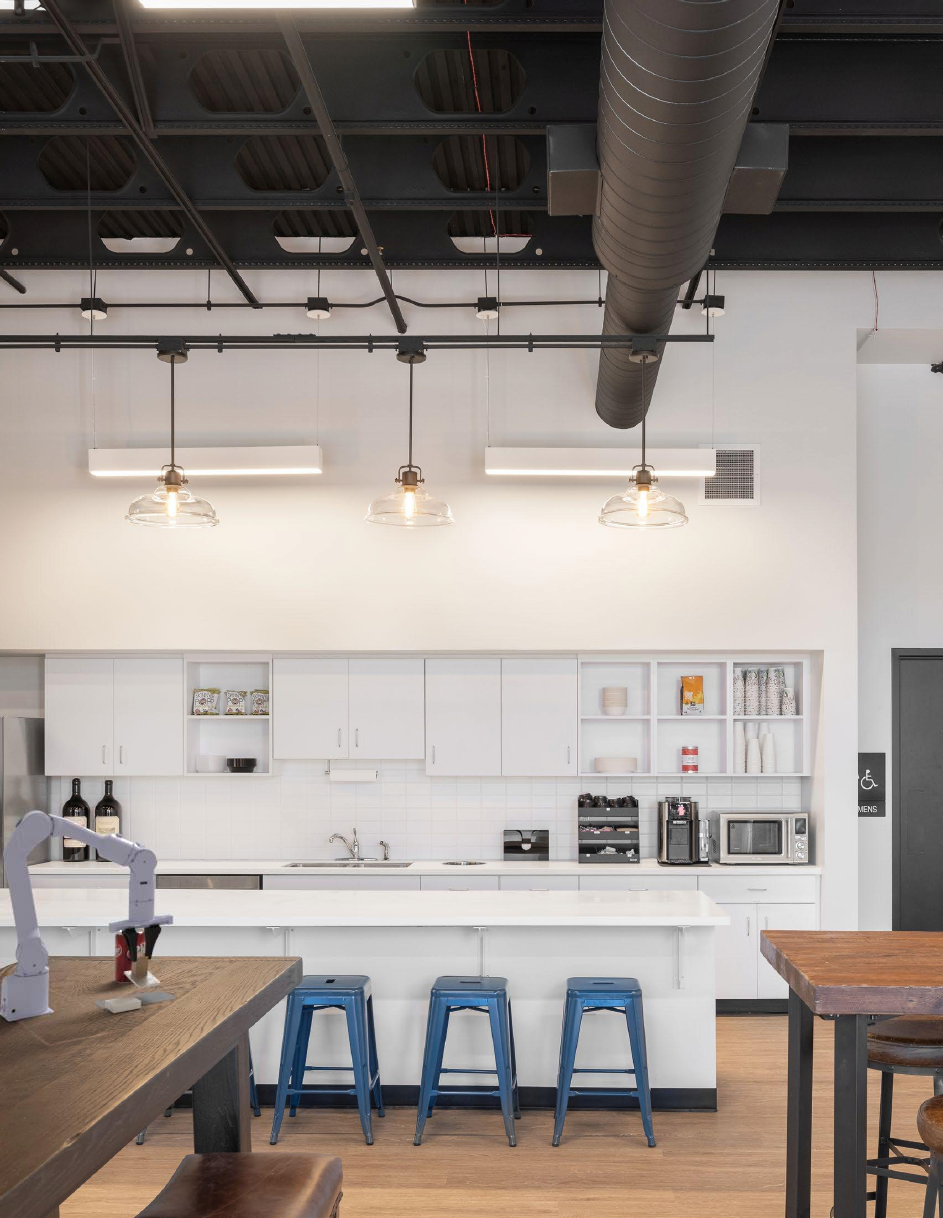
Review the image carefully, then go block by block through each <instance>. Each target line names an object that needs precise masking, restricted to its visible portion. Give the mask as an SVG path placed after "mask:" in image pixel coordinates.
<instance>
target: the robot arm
mask: <svg viewBox="0 0 943 1218" xmlns="http://www.w3.org/2000/svg"><path fill="white" fill-rule="evenodd" d="M49 836H50V837H51V838H57V837H67V838H70V839H73V840H74V841H77V842H80V843H83V844H85V845H87V846H90V847H93V848H95V849H96V850H97V851H96V852H97V853H98V856H99V857H101V858H102V859H105V860H107V861H110V862H113V864H117V865H120V866H121V867H123V868H124V867H128V868H129V880H128V881H129V883H128V919H124V920H120V921H119V920H118V921H114V922H109V923H108V932H109V933H111V934H113V933H117V932H119V931H121V933H122V935H123V937H124V939H125V941H126V944H127V946H128V949H129V953H130V958H131V961H132V962H137V942H138V935H139V933H138V932H136V930H135V929H143V930H144V933H145V953H146V954H147V955H148V956H149V957H148V961H149V960H152V956H153V953H154V949H155V946H156V943H157V940H158V939H159V937H160V934H161V932H162V927H161V926H164V925H173V924H174V916H173V915H172V914H167V915H156V916H155V892H156V891H155V889H156V888H155V883H156V882H155V869H156V867H157V866H158V860H157V857H156V854H155V853H154V852H153V851H152V850H150V849H149V848H147V847H146V846H143V845H142V844H141V843H140V842H138V841H137V842H133V841H131V840H129V839H126V838H124V837H123V834H121V833H119V832H116V833H112V832H110V833H107V834H105V835H102V834H100V833H98V832H95V831H93V830H91V829H89V828H87V827H85V826H83V825H81V824H78V823H76V822H74V821H72V820H70V819H68V818H65V817H62V816H58V815H55V814H51V813H48V814H46V813H45V812H44V811H41V810H40V809H39V810H38V809H35V810H29V811H27V812H25V814H23V816H21V818H20V819H18V821H17V822H15V824H14V828H13V829H12V832H11V834H10V836H9V838H8V841H7V842H6V844H5V847H4V849H3V852H2V853H3V862H4V867H5V873H6V878H7V884H8V890H9V895H10V902H11V908H12V912H13V918H14V919H13V920H14V924H15V930H16V937H17V947H16V950H15V958H16V961H17V966H16V968H15V969H14V970H13V974H11V975H9V976H4V977H3V978H2V982H1V986H0V987H1V989H0V991H1V992H0V1015H1V1017H3V1018H4V1019H5V1020H6V1021H8V1022H13V1021H19V1020H21V1019H22V1020H23V1019H27V1018H34V1017H37V1016H42V1015H48V1014H53V1013H55V1011H54V1010H53V1009H51V1008H50V1007H49V988H50V986H49V983H50V967H49V966H47V965H48V962H49V959H50V958H49V957H50V956H49V952H48V950H47V949H46V944H45V943H44V941H42V938H41V933H40V929H39V924H38V919H37V918H38V917H37V914H36V913H37V911H36V907H35V901H34V897H33V896H34V895H33V889H32V883H31V879H30V878H31V877H30V872H29V867H28V859H27V857H28V856H29V854H30V853H31V852H32V851H33V849H35V847H36V846H37V845H38V844H39V843H41V842H42V841H44V840H45V839H46V838H48V837H49Z"/></svg>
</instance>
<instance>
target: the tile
mask: <svg viewBox="0 0 943 1218" xmlns="http://www.w3.org/2000/svg"><path fill="white" fill-rule="evenodd" d="M126 996H127V997H125V996H121V997H122V998H120V997H116V998H117V999H114V998H110V999H111V1000H109V999H105V1000H106V1001H105V1008H106V1009H108V1010H110V1011H109V1012H111V1013H113V1014H117V1013H122V1012H127V1011H133V1010H138V1009H142V1005H141V1001H140V1000H138V999H137V998H135V997H133V996H131V995H126Z"/></svg>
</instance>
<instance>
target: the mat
mask: <svg viewBox="0 0 943 1218" xmlns="http://www.w3.org/2000/svg"><path fill="white" fill-rule="evenodd" d="M127 996H128V995H126V996H124V997H127ZM130 996H133V997H135V998H137V999H138V1000H140V1001H141V1006H144V1005H150V1004H156V1003H160V1002H165V1001H170V1000H175V999H178V997H176V996H174V995H172V994H170V993H168V992H166V991H164V990H161V989H159V990H152V991H147V992H143V993H137V994H132V995H131V994H130ZM122 997H123V996H120V997H119V998H122ZM117 998H118V997H115V998H113V999H117ZM111 999H112V998H110V999H108V1000H111ZM106 1000H107V999H103V1000H98V1001H93V1002H92V1004H94V1005H96V1006H97V1007H99V1008H100V1009H101V1010H103V1011H106V1012H111V1011H110V1010H108V1009H106V1008H105V1001H106Z"/></svg>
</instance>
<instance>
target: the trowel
mask: <svg viewBox="0 0 943 1218" xmlns="http://www.w3.org/2000/svg"><path fill="white" fill-rule="evenodd" d="M148 957H149V956H148V955H147V954H146V953H145V952H142V953H137V962H132V970H131V971H125V972H124V974H125V975H126V976H127V977H128V978H129V979H130V980H131V981H132V982H133V983H132V984H134V986H135V987H137V988H138V989H143V988H144V989H146V988H150V987H155V986H161V985H162V983H161V982H162V981H159V979H158V978H157V977H156V976H154V974H152V973H151V972H150V971H149V969H148V968H149V960H148Z"/></svg>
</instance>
